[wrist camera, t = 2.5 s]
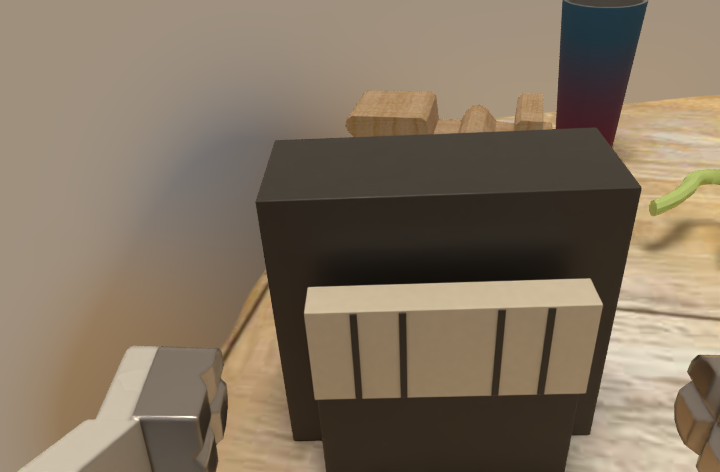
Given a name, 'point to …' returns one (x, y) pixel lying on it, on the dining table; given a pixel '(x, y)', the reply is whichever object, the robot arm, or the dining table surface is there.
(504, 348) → the piano keyboard
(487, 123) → the toy train
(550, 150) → the toy piano
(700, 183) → the figurine
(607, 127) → the cup
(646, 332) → the dining table surface
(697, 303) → the dining table surface
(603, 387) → the dining table surface
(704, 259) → the dining table surface
